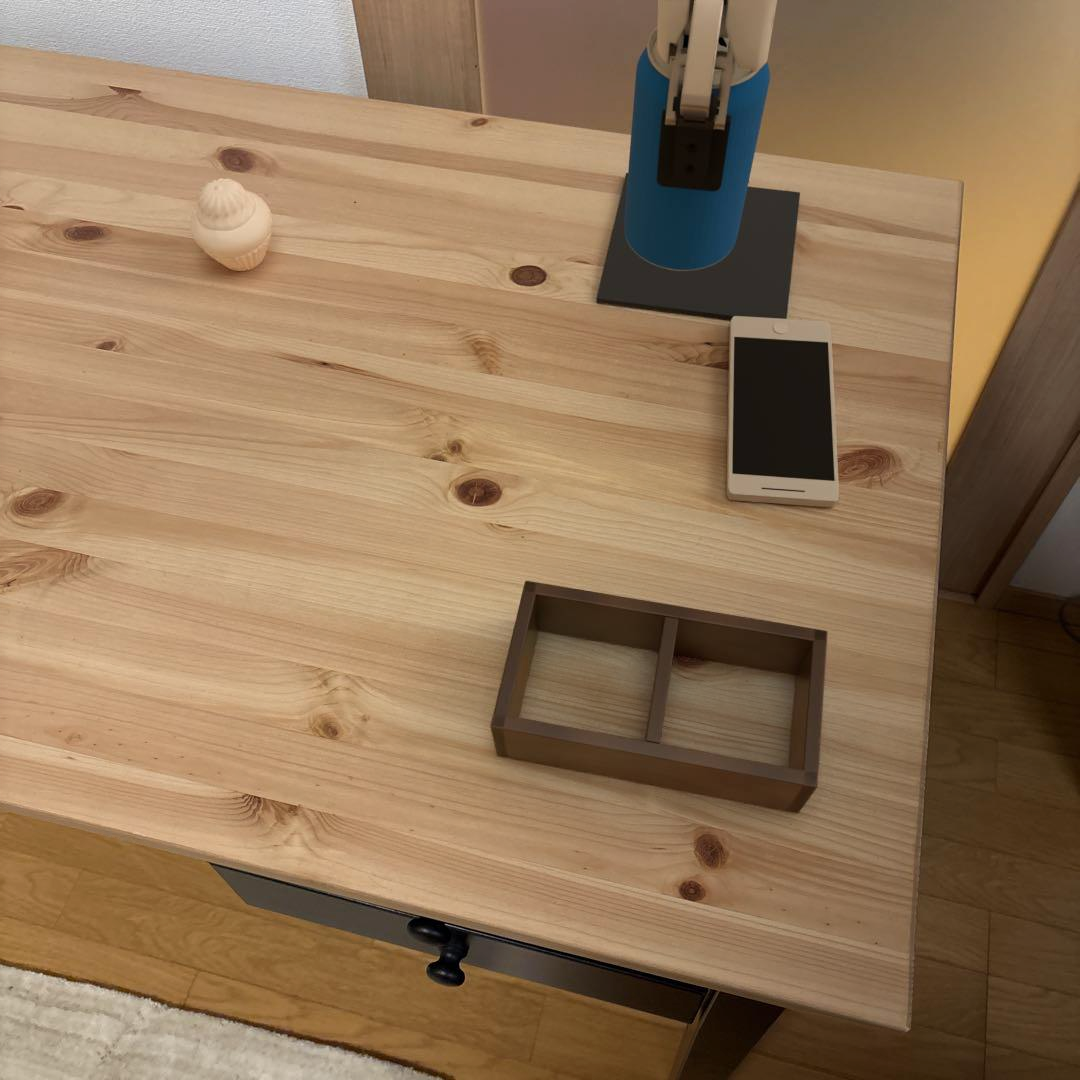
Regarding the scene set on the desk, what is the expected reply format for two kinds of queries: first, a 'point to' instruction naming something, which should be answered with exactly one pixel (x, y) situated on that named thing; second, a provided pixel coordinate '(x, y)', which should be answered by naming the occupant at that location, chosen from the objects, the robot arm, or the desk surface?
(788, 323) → the smartphone
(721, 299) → the mat
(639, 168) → the beverage can
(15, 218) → the desk surface
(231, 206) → the muffin
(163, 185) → the desk surface
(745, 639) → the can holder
